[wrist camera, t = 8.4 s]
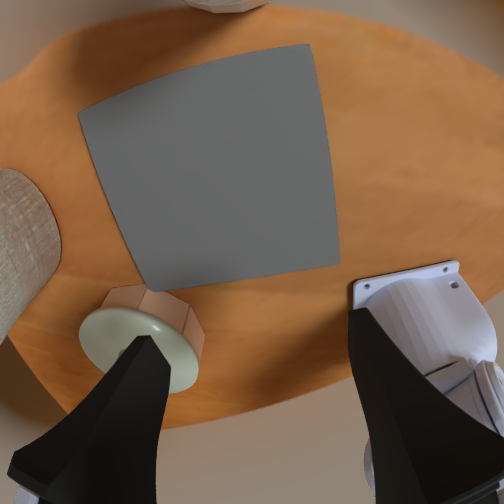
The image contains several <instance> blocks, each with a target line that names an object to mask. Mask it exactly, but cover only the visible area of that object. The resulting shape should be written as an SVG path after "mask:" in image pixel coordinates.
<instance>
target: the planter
mask: <svg viewBox="0 0 504 504" xmlns="http://www.w3.org/2000/svg"><path fill="white" fill-rule="evenodd" d="M60 257H61V239H60V233H59V229H58V225H57V222H56V219H55V216H54V214H53V212H52V210H51V207H50V205H49V204H48V202H47V200H46V198H45V197H44V195H43V194H42V192H41V191H40V190H39V188H38V187H37V186H36V185H35V184H34V183H33V182H32V181H31V180H30V179H29V178H28V177H27V176H25V175H24V174H23V173H21V172H19V171H17V170H14V169H11V168H2V169H0V345H1V343H2V342H3V340H4V339H5V337H6V336H7V334H8V333H9V331H10V330H11V328H12V327H13V325H14V324H15V322H16V321H17V320H18V318H19V317H20V316H21V314H22V313H23V312H24V310H25V309H26V308H27V306H28V305H29V304H30V302H31V301H32V300H33V299H34V297H35V296H36V295H37V294H38V292H39V291H40V290H41V289H42V287H43V286H44V285H45V284H46V282H47V281H48V280H49V279H50V278H51V276H52V275H53V274H54V272H55V270H56V269H57V267H58V265H59V262H60Z"/></svg>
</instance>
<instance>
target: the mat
mask: <svg viewBox="0 0 504 504" xmlns="http://www.w3.org/2000/svg"><path fill="white" fill-rule="evenodd" d="M78 116H79V119H80V123H81V126H82V129H83V133H84V136H85V139H86V142H87V145H88V148H89V151H90V154H91V157H92V160H93V162H94V165H95V168H96V171H97V174H98V176H99V179H100V182H101V184H102V187H103V189H104V192H105V195H106V197H107V200H108V202H109V205H110V207H111V210H112V212H113V214H114V217H115V219H116V221H117V224H118V226H119V228H120V231H121V233H122V235H123V237H124V240H125V242H126V244H127V246H128V248H129V251H130V253H131V255H132V257H133V259H134V261H135V263H136V265H137V268H138V270H139V272H140V274H141V276H142V278H143V280H144V282H145V284H146V286H147V288H148V289H149V290H151V291H153V292H160V291H168V290H175V289H183V288H190V287H197V286H204V285H211V284H218V283H225V282H232V281H238V280H245V279H252V278H258V277H264V276H271V275H277V274H283V273H290V272H296V271H302V270H308V269H314V268H320V267H326V266H331V265H337V264H340V255H339V239H338V226H337V214H336V203H335V193H334V184H333V175H332V167H331V159H330V152H329V145H328V138H327V131H326V125H325V119H324V113H323V107H322V101H321V96H320V90H319V85H318V80H317V75H316V70H315V66H314V61H313V56H312V52H311V48H310V44H302V45H293V46H286V47H279V48H272V49H266V50H261V51H255V52H250V53H245V54H240V55H236V56H231V57H227V58H223V59H219V60H215V61H211V62H207V63H203V64H200V65H196V66H193V67H190V68H186V69H183V70H180V71H177V72H174V73H171V74H168V75H165V76H162V77H159V78H156V79H154V80H151V81H148V82H146V83H143V84H140V85H138V86H135V87H133V88H130V89H128V90H126V91H123V92H121V93H119V94H116V95H114V96H112V97H110V98H107V99H105V100H103V101H101V102H99V103H97V104H95V105H93V106H91V107H89V108H87V109H85V110H83V111H81V112H79V113H78Z"/></svg>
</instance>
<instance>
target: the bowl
mask: <svg viewBox="0 0 504 504" xmlns="http://www.w3.org/2000/svg"><path fill="white" fill-rule="evenodd" d="M110 306H114V307H125V308H130V309H135V310H138V311H141V312H144V313H147V314H149V315H152V316H154V317H156V318H158V319H160V320H162V321H164V322H166V323H167V324H169V325H171V326H172V327H173V328H175V329H176V330H178V331H179V332H180V333H181V334H182V335H183V336H185V338H186V339H187V340H188V341H189V342H190V343H191V344H192V346H193V347H194V349H195V350H196V352H197V355H198V357H199V364H200V359H201V354H202V348H203V343H204V338H205V334H204V332H203V330H202V328H201V326H200V324H199V322H198V320H197V317H196V315H195V313H194V311H193V309H192V307H191V306H189V304H188V303H186V302H184V301H182V300H180V299H178V298H176V297H174V296H172V295H170V294H168V293H166V292H164V291H160V292H153V291H151V290H149V289H148V288H147V286H146V284H138V285H131V286H124V287H117V288H112V289H111V290H110V291H109V293H108V295H107V297H106V298H105V300H104V302H103V303H102V305H101V307H100V308H102V307H110Z"/></svg>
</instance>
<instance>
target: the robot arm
mask: <svg viewBox="0 0 504 504" xmlns="http://www.w3.org/2000/svg"><path fill="white" fill-rule="evenodd" d="M444 268H445V269H444ZM458 269H459V263H458V262H457V261H456V260H453V261H448V262H444V263H439V264H435V265H430V266H426V267H421V268H417V269H412V270H407V271H402V272H397V273H393V274H388V275H383V276H377V277H372V278H367V279H362V280H358V281H356V282H355V283H354V284H353V310H349V319H348V352H349V357H350V363H351V368H352V373H353V377H354V380H355V384H356V387H357V390H358V394H359V397H360V401H361V404H362V408H363V411H364V415H365V419H366V422H367V427H368V431H369V437H370V438H369V440H368V442H367V444H366V447H365V453H364V471H365V476H366V479H367V482H368V484H369V486H370V488H371V489H372V491H373V492H374V493H375V495H376V496H375V497H376V504H504V373H503V371H502V370H501V369H500V367H499V366H498V365H497V364H496V363H495V362H494V361H495V358H496V353H497V339H496V334H495V329H494V326H493V324H492V322H491V319H490V317H489V316H488V314H487V312H486V311H485V310H484V308H483V306H482V305H481V304H480V302H479V301H478V299H477V298H476V296H475V295H474V294H473V292H472V291H471V289H470V288H469V287H468V285H467V284H466V283H465V281H464V280H463V278H462V277H461V276H460V275H459V273H458ZM366 284H368V285H367V286H365V285H366ZM170 378H171V366H170V364H169V363H168V361H167V360H166V358H165V357H164V355H163V354H162V352H161V351H160V349H159V348H158V346H157V345H156V343H155V342H154V340H153V338H152V337H151V335H141V336H136V338H135V339H134V340H133V341H132V342H131V343H130V345H129V346H128V347H127V348H126V349H125V351H124V352H123V353H122V354H121V356H120V357H119V358H118V359H117V361H116V362H115V363H114V364H113V366H112V367H111V368H110V369H109V371H108V372H107V373H106V374H105V376H104V377H103V378H102V379H101V380H100V382H99V383H98V384H97V385H96V386H95V387H94V388H93V390H92V391H91V392H90V393H89V394H88V395H87V397H86V398H85V399H84V400H83V401H82V402H81V403H80V404H79V405H78V406H77V407H76V408H75V409H74V410H73V411H72V412H71V413H70V414H69V415H68V416H66V417H65V418H64V419H63V420H62V421H60V422H59V423H58V424H57V425H56V426H54V427H53V428H52V429H51V430H49V431H48V432H47V433H45V434H44V435H43V436H41V437H39V438H38V439H36V440H35V441H33V442H32V443H30V444H28V445H26V446H24V447H22V448H21V449H19V450H17V451H15V452H14V454H13V457H12V460H11V463H10V466H9V469H8V472H7V475H8V476H9V477H10V478H11V479H13V480H14V481H15V482H17V483H18V484H20V485H22V486H23V487H22V486H19V487H18V491H17V495H16V498H15V502H14V504H157V503H156V457H157V445H158V439H159V434H160V430H161V425H162V421H163V416H164V412H165V407H166V403H167V398H168V394H169V388H170ZM24 487H25V488H24Z"/></svg>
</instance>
